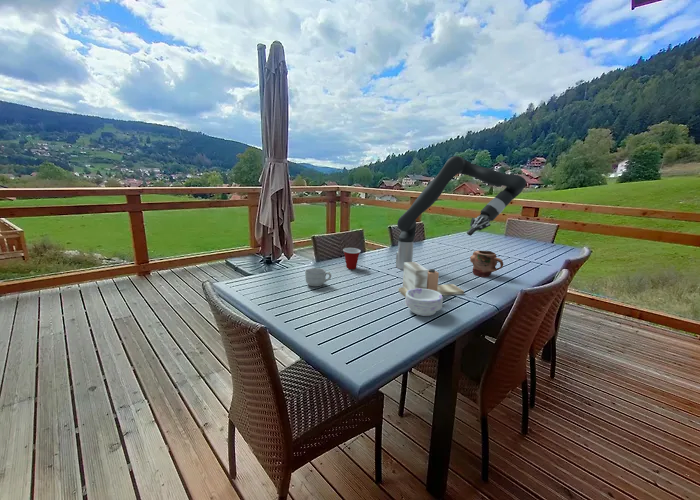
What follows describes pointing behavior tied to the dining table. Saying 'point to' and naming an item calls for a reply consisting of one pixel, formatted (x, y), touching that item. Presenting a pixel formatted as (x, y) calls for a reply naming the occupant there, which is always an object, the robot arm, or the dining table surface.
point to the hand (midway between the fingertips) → (468, 234)
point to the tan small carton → (432, 279)
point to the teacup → (316, 276)
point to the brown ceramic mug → (484, 263)
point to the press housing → (422, 280)
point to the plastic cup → (351, 257)
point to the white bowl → (423, 301)
